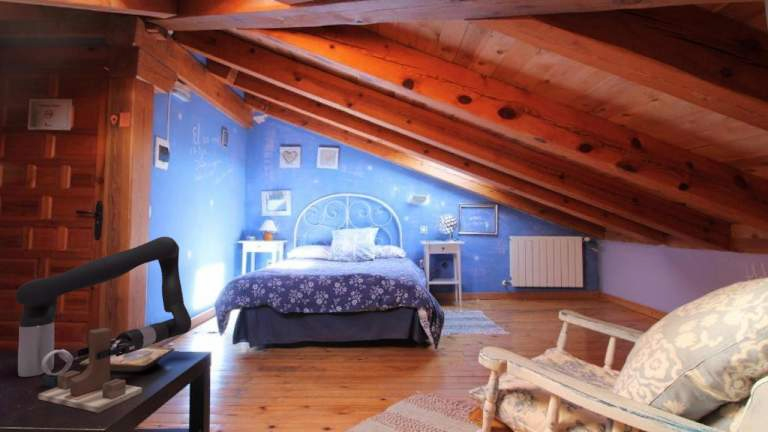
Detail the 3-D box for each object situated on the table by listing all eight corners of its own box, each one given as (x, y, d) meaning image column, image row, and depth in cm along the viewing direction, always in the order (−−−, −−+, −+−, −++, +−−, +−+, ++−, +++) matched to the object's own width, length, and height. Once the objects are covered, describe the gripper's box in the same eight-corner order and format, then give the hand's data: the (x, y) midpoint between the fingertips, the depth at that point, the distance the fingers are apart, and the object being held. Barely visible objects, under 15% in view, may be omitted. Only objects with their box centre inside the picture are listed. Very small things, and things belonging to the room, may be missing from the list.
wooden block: (74, 397, 109) (75, 336, 109) (69, 393, 111) (70, 334, 111) (110, 386, 116) (111, 329, 116) (104, 382, 119) (105, 327, 119)
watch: (76, 380, 125) (76, 347, 125) (47, 390, 117) (47, 355, 117) (66, 377, 127) (66, 345, 127) (37, 387, 119) (37, 353, 119)
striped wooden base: (38, 399, 111) (38, 380, 111) (84, 381, 124) (84, 364, 124) (98, 412, 103) (98, 393, 103) (141, 392, 115) (141, 374, 116)
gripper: (122, 326, 130) (70, 340, 114) (152, 330, 125) (103, 345, 110) (122, 347, 130) (70, 364, 114) (152, 352, 125) (102, 370, 110)
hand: (86, 355), depth 112 cm, fingers open, 8 cm apart
